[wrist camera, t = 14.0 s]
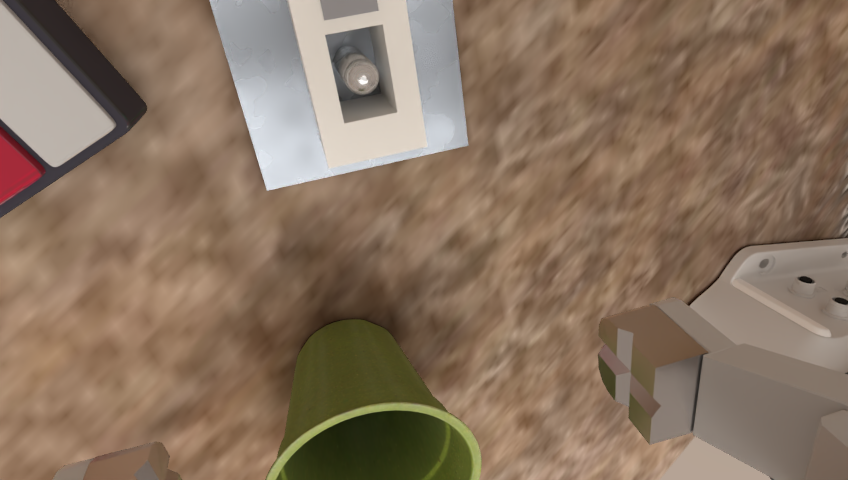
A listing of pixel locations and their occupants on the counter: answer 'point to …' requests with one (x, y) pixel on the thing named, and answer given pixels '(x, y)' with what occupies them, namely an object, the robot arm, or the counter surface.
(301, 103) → the mounting plate
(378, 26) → the power strip
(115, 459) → the robot arm
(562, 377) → the counter surface
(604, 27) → the counter surface
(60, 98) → the calculator
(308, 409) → the plant pot
